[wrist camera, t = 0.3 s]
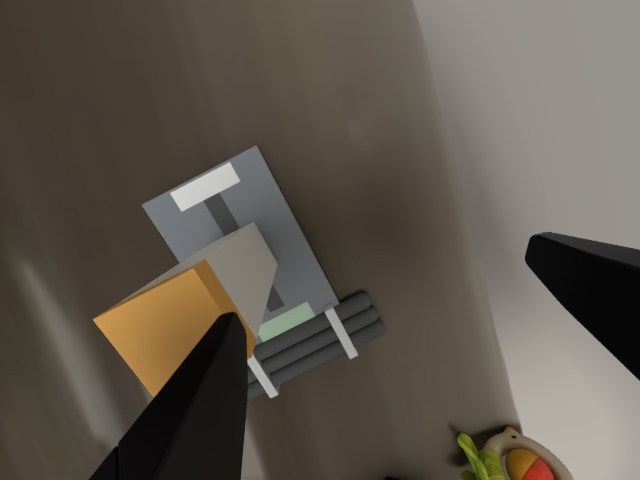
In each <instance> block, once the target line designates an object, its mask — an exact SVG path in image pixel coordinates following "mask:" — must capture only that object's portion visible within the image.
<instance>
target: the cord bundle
mask: <svg viewBox="0 0 640 480" xmlns="http://www.w3.org/2000/svg"><path fill="white" fill-rule="evenodd" d="M371 302H372V300H371V297H370V296H369V295H368V294H367V293H360V294H358V295H356V296H354V297H352V298H350V299H348V300H346V301H344V302H342V303H340V304H339V305H337V306H335V307H333V305H332V303H331V304H329V305H327V306H325V307H324V312H322V313H320V314H318V315H316V316H315V317H313V318H311V319H309V320H307V321H305V322H303V323H301V324H299V325H297V326H295V327H293V328H291V329H289V330H287V331H285V332H283V333H281V334H279V335H277V336H275V337H273V338H271V339H269V340H267V341H265V342H262V343H260V344H258V345H256V346H255V347H254V351H253V354H252V358H250V359H248V360H247V363H248V396H247V401H248V400H250V399H252V398H254V397H257V396H259V395H261V394H263V393H265V392H267V394H268V395H269V397H270V398H273V397H275V396H277V395H279V385H281V384H283V383H285V382H287V381H289V380H291V379H293V378H295V377H297V376H299V375H301V374H303V373H305V372H307V371H309V370H311V369H313V368H315V367H317V366H319V365H321V364H324V363H326V362H328V361H330V360H332V359H334V358H336V357H338V356H340V355H342V354H344V353H346V352H347V354H348V356H349V358H350V359H352V358H354V357H356V356H358V353H357V350H356V347H358V346H360V345H362V344H364V343H366V342H368V341H370V340H372V339H374V338H376V337H378V336H380V335H382V334H383V333H384V331H385V326H384V324H383V322H381V321H380V320H377V319H378V311H377V310H376V309H375V308H374V307H371V306H370V305H371Z"/></svg>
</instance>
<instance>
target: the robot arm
mask: <svg viewBox="0 0 640 480" xmlns="http://www.w3.org/2000/svg"><path fill="white" fill-rule="evenodd" d="M525 261H526V263H527V265H528V266H529V268H530V269H531V270H532V271H533V272H534V273H535V275H537V277H538V278H539V279H540V280H541V282H542V283H543V284H544V285H545V286H546V287H547V288H548V290H549V291H550V292H551V293H552V294H553V295H554V297H555V298H556V299H557V300H558V301H559V302H560V303H561V304H562V305H563V307H564V308H565V309H566V310H567V311H568V312H569V313H570V314H571V315H572V316H573V317H574V318H575V319H577V321H579V322H580V323H581V324H582V325H583V326H584V327H585V328H586V329H587V330H588V331H589V332H590V333H591V334H592V335H593V336H594V337H595V338H596V339H597V340H598V341H599V342H601V344H602V345H603V346H604V347H605V348H607V350H608V351H610V352H611V353H612V354H613V355H614V356H615V357H616V358H617V359H618V360H619V361H620V362H621V363H622V364H623V365H624V366H625V367H626V368H627V369H628V370H629V371H630V372H631V373H632V374H633V375H634V376H635V377H636V378H637V379H639V381H640V250H638V249H633V248H628V247H623V246H618V245H613V244H608V243H603V242H598V241H592V240H587V239H582V238H577V237H571V236H567V235H562V234H557V233H552V232H543V233H539V234H535V235H533V236H532V237H531V238H530V240H529V244H528V247H527V251H526V255H525ZM247 396H248V363H247V334H246V330H245V328H244V326H243V324H242V322H241V320H240V318H239V316H238V314H237V313H236V312H235V311H231V312H227V313H223V314H221V315H220V316H219V317H218V318H217V319H216V320H215V322H214V323H213V324H212V325H211V327H210V328H209V329H208V330H207V332H206V333H205V334H204V336H203V337H202V338H201V339H200V341H199V342H198V343H197V344H196V346H195V347H194V348H193V349H192V351H191V352H190V353H189V354H188V356H187V357H186V358H185V359H184V361H183V362H182V363H181V364H180V366H179V367H178V368H177V370H176V371H175V372H174V373H173V375H172V376H171V377H170V378H169V380H168V381H167V382H166V383H165V385H164V386H163V387H162V388H161V390H160V391H159V392H158V393H157V395H156V396H155V397H154V399H153V400H152V401H151V402H150V404H149V405H148V406H147V407H146V409H145V410H144V411H143V412H142V414H141V415H140V416H139V417H138V419H137V420H136V421H135V422H134V424H133V425H132V426H131V427H130V429H129V430H128V431H127V433H126V434H125V435H124V436H123V438H122V439H121V440H120V441H119V443H118V446H116V447H115V448H114V449H113V450H112V451H111V452H110V454H109V455H108V456H107V458H106V459H105V460H104V461H103V463H102V464H101V465H100V466H99V468H98V469H97V470H96V471H95V472H94V474H93V475H92V476H91V477H90V479H89V480H241V468H242V456H243V444H244V432H245V420H246V409H247ZM386 480H394V479H392V478H388V479H386Z"/></svg>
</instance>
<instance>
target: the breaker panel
mask: <svg viewBox="0 0 640 480" xmlns="http://www.w3.org/2000/svg"><path fill="white" fill-rule="evenodd" d="M142 206H143V208H144V209H145V211H146V212H147V214H148V215H149V217H150V218H151V220H152V221H153V223H154V225H155V226H156V228H157V229H158V231H159V232H160V234H161V235H162V237H163V238H164V240H165V241H166V243H167V244H168V246H169V247H170V249H171V250H172V252H173V253H174V255H175V256H176V258H177V259H178V261H179V262H180V263H181V262H183V261H184V260H186V259H187V258H189V257H190V256H192V255H193V254H195V253H197V252H198V251H200V250H201V249H203V248H204V247H206V246H207V245H209V244H211V243H213V242H215V241H217V240H218V239H220V238H222V237H224V236H226V235H228V234H230V233H232V232H234V231H236V230H238V229H240V228H242V227H244V226H246V225H248V224H250V223H252V222H255V224H256V226H257V228H258V230H259V231H260V233H261V235H262V237H263V238H264V240H265V242H266V244H267V245H268V247H269V249H270V251H271V253H272V254H273V256H274V258H275V260H276V261H277V263H278V265H277V269H276V272H275V276H274V279H273V283H272V287H271V290H270V294H269V297H268V301H267V304H266V308H265V311H264V315H263V319H262V322H261V326H260V329H259V333H258V336H257V340H256V344H255V346H256V345H258V344H260V343H262V342H265V341H267V340H269V339H271V338H273V337H275V336H277V335H279V334H281V333H283V332H285V331H287V330H289V329H291V328H293V327H295V326H297V325H299V324H301V323H303V322H305V321H307V320H309V319H311V318H313V317H315V316H316V315H318V314H320V313H322V312H324V307H325V306H327V305H329V304H331V303H332V305H333V307H335V306H337V305H339V304H340V302H339V301H338V299H337V297H336V295H335V293H334V291H333V289H332V287H331V285H330V283H329V281H328V280H327V278H326V276H325V274H324V272H323V270H322V268H321V266H320V264H319V262H318V261H317V259H316V257H315V255H314V253H313V251H312V249H311V247H310V245H309V243H308V241H307V240H306V238H305V236H304V234H303V232H302V230H301V228H300V226H299V224H298V222H297V221H296V219H295V217H294V215H293V213H292V211H291V209H290V207H289V205H288V203H287V201H286V200H285V198H284V196H283V194H282V192H281V190H280V188H279V186H278V184H277V182H276V181H275V179H274V177H273V175H272V173H271V171H270V169H269V167H268V165H267V163H266V161H265V160H264V158H263V156H262V154H261V152H260V150H259V148H258V146H257V145H256V146H254V147H252V148H250V149H248V150H246V151H245V152H243V153H241V154H239V155H237V156H235V157H233V158H231V159H229V160H227V161H225V162H223V163H221V164H219V165H218V166H216V167H214V168H212V169H210V170H208V171H206V172H204V173H202V174H200V175H198V176H196V177H194V178H193V179H191V180H189V181H187V182H185V183H183V184H181V185H179V186H177V187H175V188H173V189H171V190H169V191H167V192H166V193H164V194H162V195H160V196H158V197H156V198H154V199H152V200H150V201H148V202H146V203H144V204H142Z"/></svg>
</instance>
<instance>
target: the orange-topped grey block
mask: <svg viewBox="0 0 640 480" xmlns="http://www.w3.org/2000/svg"><path fill="white" fill-rule="evenodd" d="M277 265H278V263H277V261H276V260H275V258H274V256H273V254H272V253H271V251H270V249H269V247H268V245H267V244H266V242H265V240H264V238H263V237H262V235H261V233H260V231H259V230H258V228H257V226H256V224H255V222H252V223H250V224H248V225H246V226H244V227H242V228H240V229H238V230H236V231H234V232H232V233H230V234H228V235H226V236H224V237H222V238H220V239H218V240H217V241H215V242H213V243H211V244H209V245H207V246H206V247H204V248H203V249H201V250H200V251H198V252H197V253H195V254H193V255H192V256H190V257H189V258H187V259H186V260H184V261H183V262H181V263H180V264H178V265H176V266H175V267H173V268H172V269H170V270H169V271H167V272H166V273H164V274H163V275H161V276H159V277H158V278H156V279H155V280H153V281H152V282H150V283H149V284H147V285H146V286H144V287H142V288H141V289H139V290H138V291H136V292H135V293H133V294H132V295H130V296H129V297H127V298H125V299H124V300H122V301H121V302H119V303H118V304H116V305H115V306H113V307H112V308H110V309H108V310H107V311H105V312H104V313H102V314H101V315H99V316H98V317H96V318H95V319H93V320H94V322H95V323H96V324H97V326H98V327H99V328H100V329H101V331H102V332H103V333H104V334H105V336H106V337H107V338H108V340H109V341H110V342H111V343H112V345H113V346H114V347H115V349H116V350H117V351H118V352H119V354H120V355H121V356H122V357H123V359H124V360H125V361H126V363H127V364H128V365H129V366H130V368H131V369H132V370H133V371H134V373H135V374H136V375H137V377H138V378H139V379H140V380H141V382H142V383H143V384H144V385H145V387H146V388H147V389H148V391H149V392H150V393H151V394H152V396H153V397H155V396H156V395H157V393H158V392H159V391H160V390H161V388H162V387H163V386H164V385H165V383H166V382H167V381H168V380H169V378H170V377H171V376H172V375H173V373H174V372H175V371H176V370H177V368H178V367H179V366H180V364H181V363H182V362H183V361H184V359H185V358H186V357H187V356H188V354H189V353H190V352H191V351H192V349H193V348H194V347H195V346H196V344H197V343H198V342H199V341H200V339H201V338H202V337H203V336H204V334H205V333H206V332H207V330H208V329H209V328H210V327H211V325H212V324H213V323H214V322H215V320H216V319H217V318H218V317H219V316H220V315H221V314H223V313H227V312H231V311H235V312H236V313H237V314H238V316H239V318H240V320H241V322H242V324H243V326H244V328H245V330H246V334H247V360H248V359H250V358H252V354H253V351H254V347H255V344H256V340H257V336H258V333H259V329H260V326H261V322H262V319H263V315H264V311H265V308H266V304H267V301H268V297H269V294H270V290H271V287H272V283H273V279H274V276H275V272H276V269H277Z"/></svg>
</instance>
